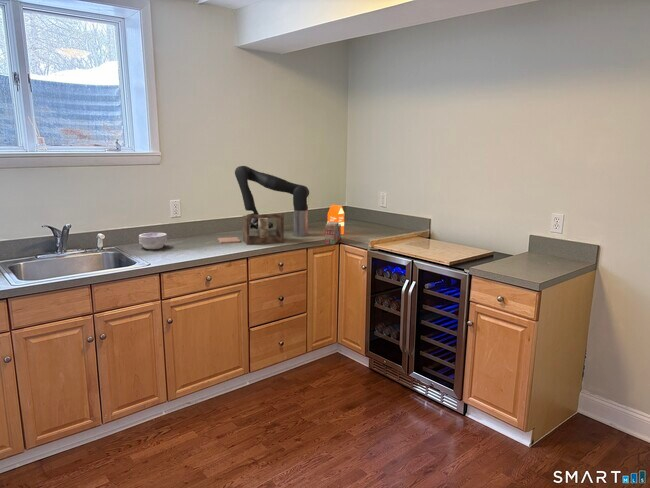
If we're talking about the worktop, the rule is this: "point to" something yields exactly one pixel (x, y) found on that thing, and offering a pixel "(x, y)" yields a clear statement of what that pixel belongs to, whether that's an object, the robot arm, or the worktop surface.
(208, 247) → the worktop surface
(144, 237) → the paper bowls
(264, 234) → the maple block
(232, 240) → the terracotta tile
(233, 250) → the worktop surface
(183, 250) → the worktop surface
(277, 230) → the walnut bay
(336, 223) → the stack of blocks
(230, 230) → the worktop surface
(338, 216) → the orange juice
